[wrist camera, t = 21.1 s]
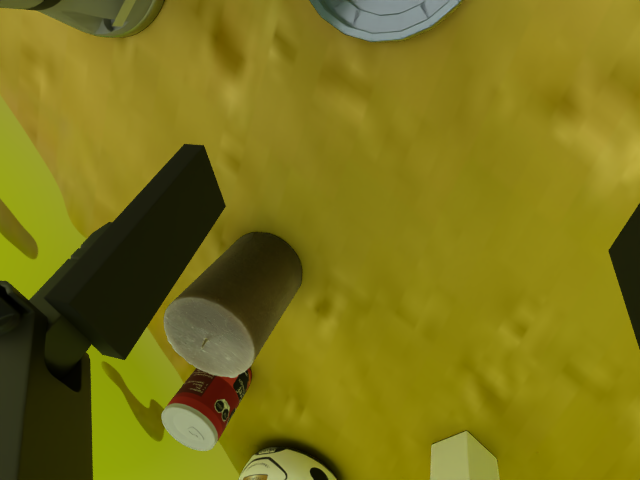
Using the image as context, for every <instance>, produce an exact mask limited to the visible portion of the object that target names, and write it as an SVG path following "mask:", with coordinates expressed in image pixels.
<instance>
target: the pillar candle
mask: <svg viewBox="0 0 640 480" xmlns="http://www.w3.org/2000/svg"><path fill="white" fill-rule="evenodd" d="M301 280H302V268H301V263H300V260H299V258H298V256H297V254H296V253H295V252H294V250H293V249H292V248H291V247H290V246H289V245H288V244H287V243H286V242H285V241H283V240H281V239H280V238H278V237H276V236H274V235H272V234H270V233H258V232H253V233H249V234H246V235H244V236H242V237H241V238H239V239H238V240H237V241H236V242H235V243H234V244H233V245H232V246H231V247H230V248H229V249H228V250H226V251H225V252H224V253H223V254H222V255H221V256H220V257H219V258H218V259H217V260H216V261H215V262H214V263H213V264H212V265H211V266H210V267H208V268H207V269H206V270H205V271H204V272H203V273H202V274H201V275H200V276H199V277H198V278H197V279H196V280H195V281H194V282H193V283H192V284H191V285H190V286H189V287H188V288H186V289H185V290H184V291H183V292H182V293H181V294H180V295H179V296H178V297H177V298H176V299H175V300H174V301H173V302H172V303H171V304H170V305H169V306H168V308H167V309H166V311H165V316H164V328H165V332H166V335H167V337H168V341H169V343H170V344H171V345H172V347H173V349H174V350H175V351H176V352H177V353H178V354H179V355H181V356H182V357H183V358H185V359H186V361H188V363H189V364H192V365H193V366H195V367H196V368H197V369H200V370H202V371H204V372H208V373H209V374H212V375H217V376H221V377H222V376H224V377H230V378H235V377H237V376H238V374H241V373H243V372H245V371H246V370H247V369H248V368H249V367H250V366H251V365H252V363H253V362H254V360H255V358H256V357H257V355H258V353H259V352H260V350H261V348H262V347H263V345H264V343H265V342H266V340H267V339H268V337H269V335H270V334H271V332H272V331H273V329H274V327H275V326H276V324H277V323H278V321H279V319H280V318H281V316H282V314H283V313H284V311H285V310H286V308H287V307H288V305H289V303H290V302H291V300H292V299H293V297H294V295H295V293H296V292H297V290H298V288H299V287H300V285H301Z"/></svg>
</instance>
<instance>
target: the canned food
mask: <svg viewBox="0 0 640 480" xmlns="http://www.w3.org/2000/svg"><path fill="white" fill-rule="evenodd" d="M251 378H252V374H251V370H250V368H248V369H247V370H246V371H245V372H243V373H241V374H238V376H237V377H235V378H230V377H224V376H222V377H221V376H217V375H212V374H209V373H208V372H204V371H202V370H200V369H197V368H196V369H195V371H194V372H193V373H192V374H191V376H190V377H189V378H188V379H187V381H186V382H185V383H184V384H183V386H182V387H181V388H180V390H179V391H178V392H177V393H176V395H175V396H174V397H173V398H172V400H171V401H170V402H169V404H168V405H167V406H166V408H165V410H164V411H163V413H162V422H163V425H164V427H165V428H166V430H167V431H168V432H169V433H170V435H172V436H173V437H174V438H175V439H176V440H177V441H179V442H180V443H182V444H183V445H185V446H187V447H189V448H192V449H195V450H199V451H206V450H210V449H211V448H213V447H214V445H215V444H216V443H217V441H218V439H219V438H220V436H221V434H222V433H223V431H224V429H225V427H226V426H227V424H228V422H229V420H230V419H231V417H232V415H233V413H234V412H235V410H236V408H237V407H238V405H239V403H240V401H241V400H242V398H243V396H244V394H245V393H246V391H247V389H248V387H249V386H250V383H251Z"/></svg>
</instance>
